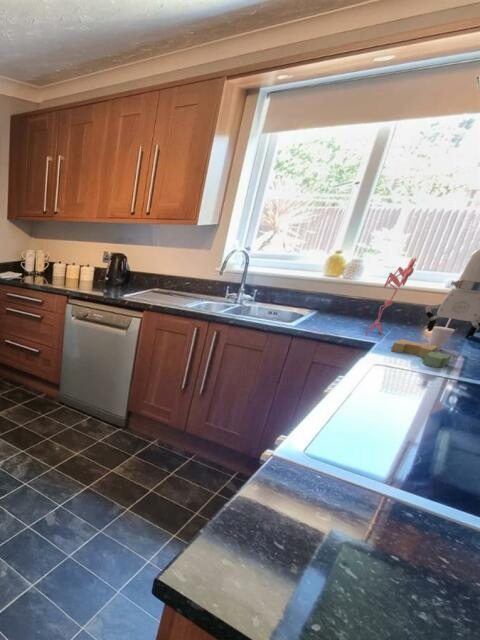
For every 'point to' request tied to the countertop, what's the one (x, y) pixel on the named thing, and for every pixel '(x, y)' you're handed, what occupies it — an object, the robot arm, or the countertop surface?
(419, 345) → the sand pad
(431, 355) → the green pad
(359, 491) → the countertop surface
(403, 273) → the figurine
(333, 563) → the countertop surface
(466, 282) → the robot arm
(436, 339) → the smoothie
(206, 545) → the countertop surface
